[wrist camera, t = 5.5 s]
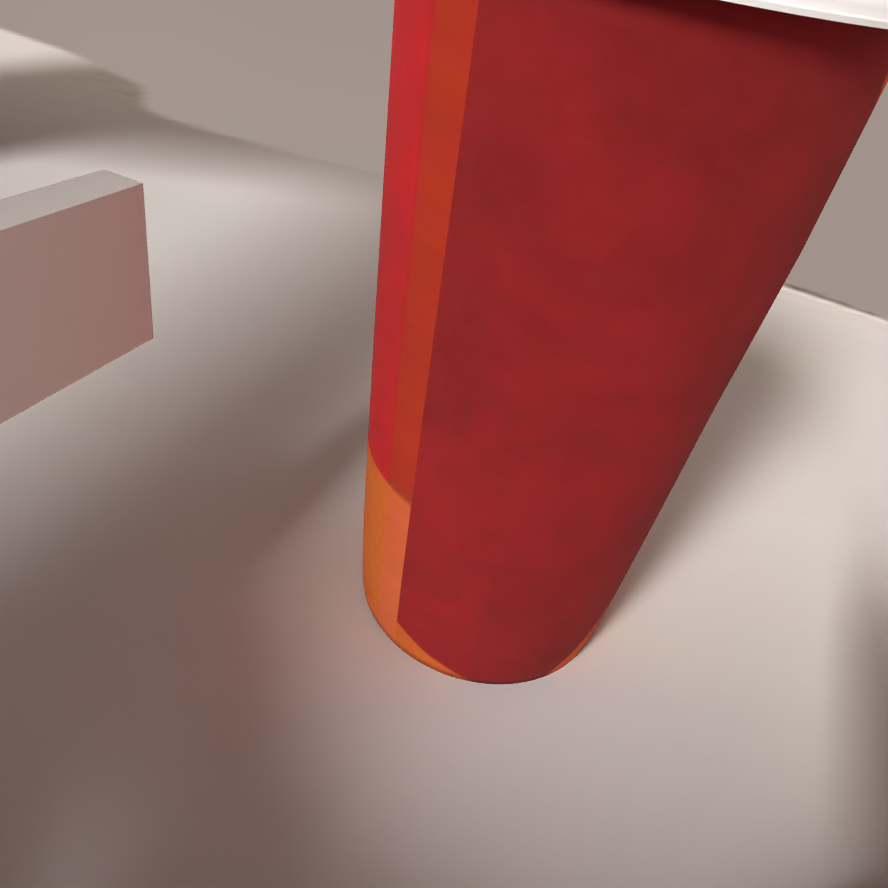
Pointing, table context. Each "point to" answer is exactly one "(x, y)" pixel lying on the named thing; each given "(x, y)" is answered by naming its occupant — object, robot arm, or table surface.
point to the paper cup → (577, 287)
